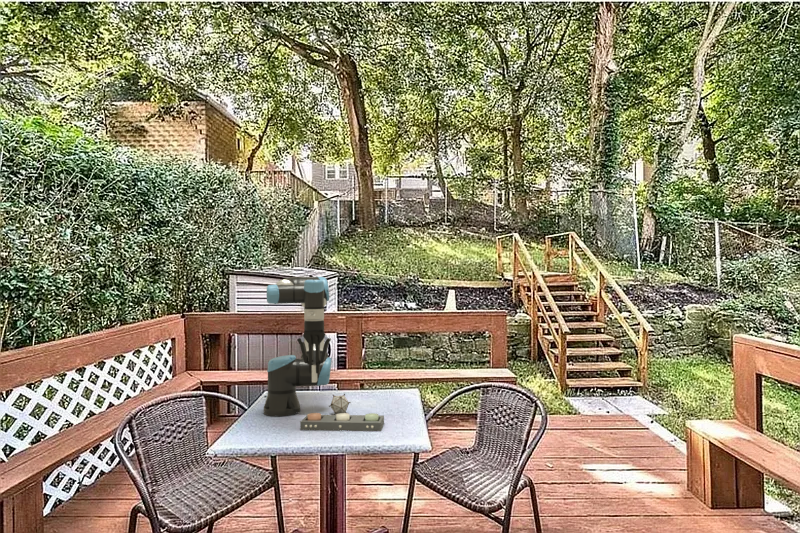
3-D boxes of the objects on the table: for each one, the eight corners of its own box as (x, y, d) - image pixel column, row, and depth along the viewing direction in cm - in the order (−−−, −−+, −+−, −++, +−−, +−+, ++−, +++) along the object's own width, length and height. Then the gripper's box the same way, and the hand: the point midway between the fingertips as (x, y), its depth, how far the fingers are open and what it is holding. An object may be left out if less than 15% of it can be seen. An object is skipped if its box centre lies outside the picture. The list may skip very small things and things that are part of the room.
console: (299, 430, 204) (299, 422, 204) (307, 422, 215) (307, 414, 215) (380, 431, 202) (380, 423, 202) (384, 423, 213) (383, 415, 213)
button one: (335, 426, 206) (335, 416, 207) (337, 422, 211) (337, 412, 212) (348, 426, 206) (348, 416, 206) (350, 423, 211) (350, 413, 211)
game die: (342, 423, 227) (345, 407, 221) (324, 415, 229) (326, 399, 223) (351, 409, 234) (355, 392, 229) (333, 401, 236) (336, 385, 230)
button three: (306, 426, 207) (306, 415, 207) (309, 422, 212) (309, 412, 212) (319, 426, 207) (319, 416, 207) (322, 422, 212) (322, 412, 212)
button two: (364, 426, 206) (364, 416, 206) (366, 423, 211) (366, 413, 211) (377, 426, 205) (377, 416, 205) (379, 423, 210) (379, 413, 210)
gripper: (294, 320, 208) (295, 383, 208) (328, 320, 207) (329, 383, 207) (300, 319, 216) (300, 379, 215) (333, 319, 215) (333, 380, 214)
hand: (314, 381), depth 211 cm, fingers closed
